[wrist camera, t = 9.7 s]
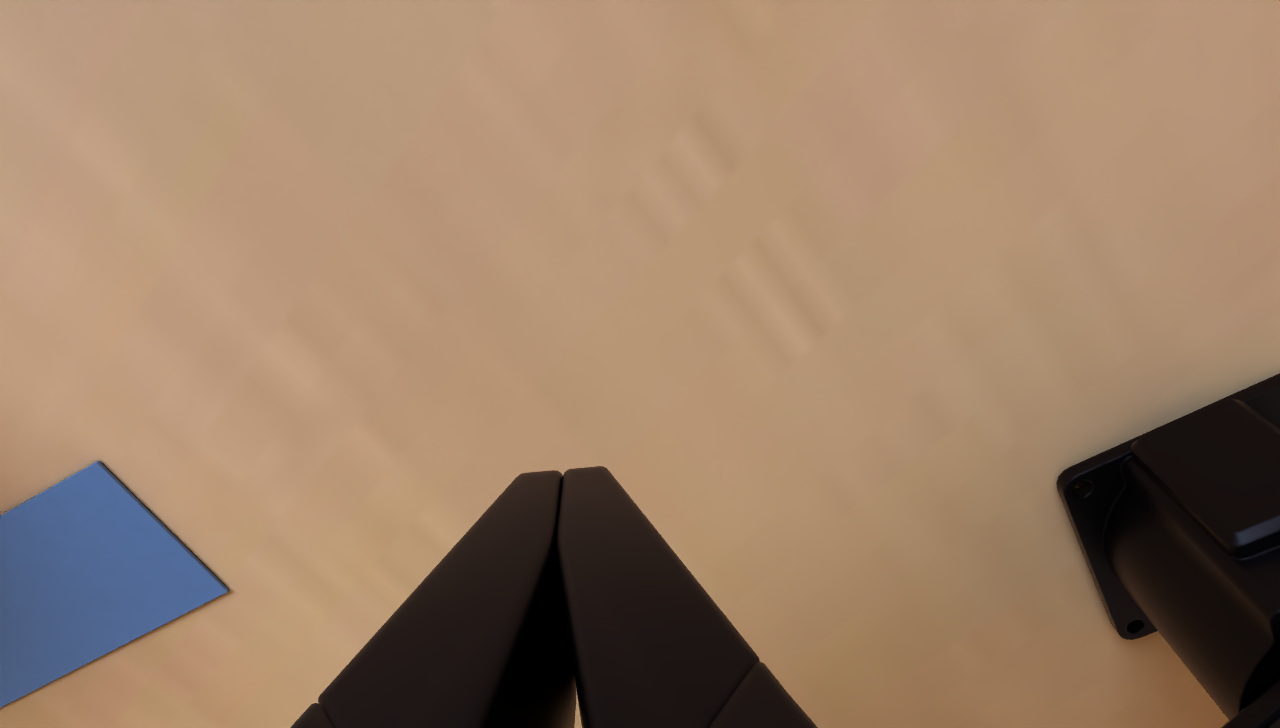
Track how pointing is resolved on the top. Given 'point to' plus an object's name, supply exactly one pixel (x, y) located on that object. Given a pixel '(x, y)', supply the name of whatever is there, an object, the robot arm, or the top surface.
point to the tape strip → (86, 579)
